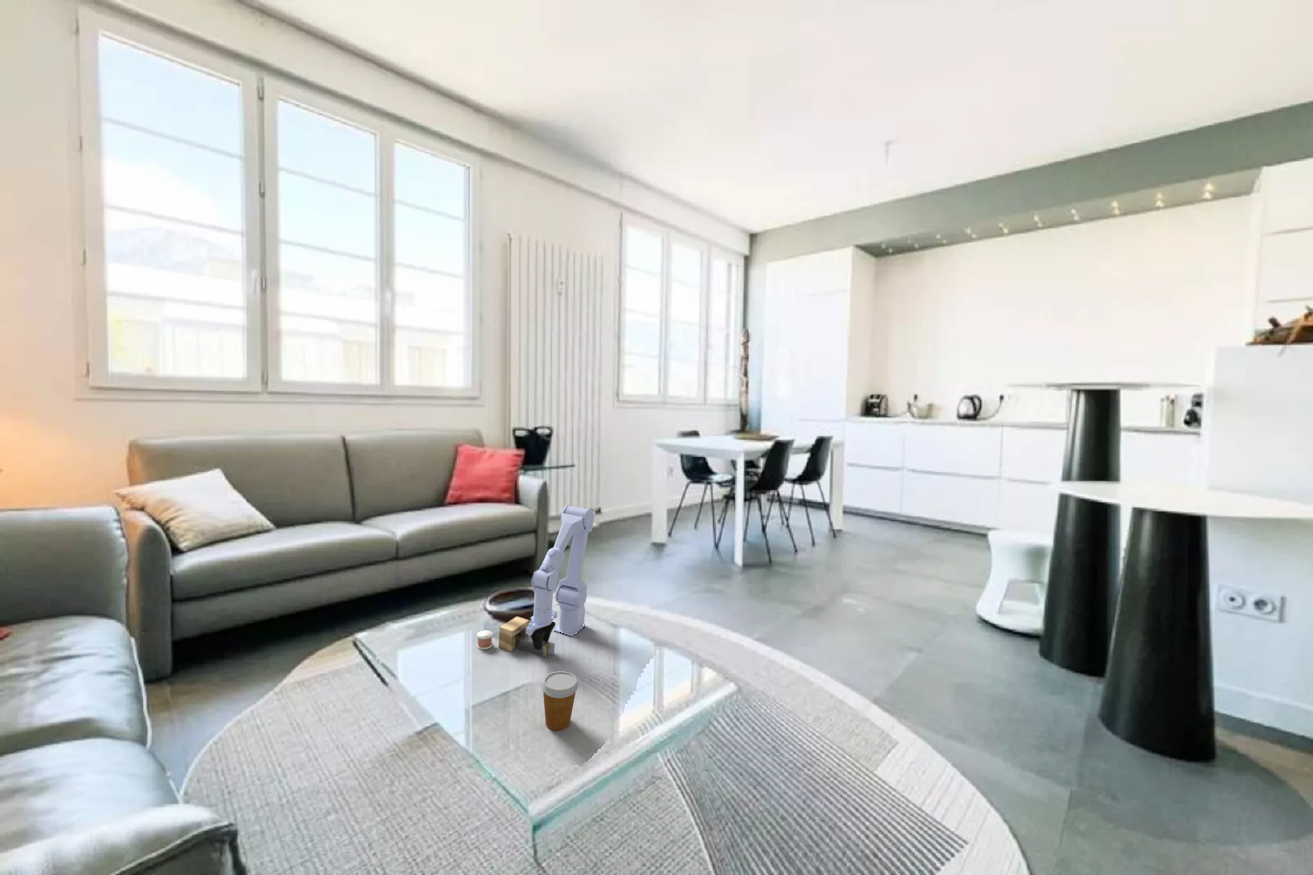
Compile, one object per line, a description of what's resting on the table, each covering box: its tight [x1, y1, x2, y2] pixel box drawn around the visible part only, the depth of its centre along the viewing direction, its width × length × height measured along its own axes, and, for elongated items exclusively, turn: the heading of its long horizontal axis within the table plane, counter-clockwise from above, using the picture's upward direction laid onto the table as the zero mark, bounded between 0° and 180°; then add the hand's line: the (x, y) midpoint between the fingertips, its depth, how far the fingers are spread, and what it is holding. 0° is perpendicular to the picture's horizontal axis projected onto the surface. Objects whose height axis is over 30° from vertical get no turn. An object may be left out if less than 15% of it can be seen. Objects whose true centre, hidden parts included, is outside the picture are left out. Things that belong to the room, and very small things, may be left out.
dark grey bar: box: [515, 633, 556, 659], centre depth 182 cm, size 3×16×4 cm, turn 67°
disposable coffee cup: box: [540, 670, 579, 731], centre depth 146 cm, size 10×10×12 cm
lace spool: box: [476, 630, 494, 650], centre depth 182 cm, size 5×5×4 cm
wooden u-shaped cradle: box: [498, 616, 530, 652], centre depth 185 cm, size 9×5×7 cm, turn 157°
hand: (540, 646), depth 181 cm, fingers closed on dark grey bar, 3 cm apart
